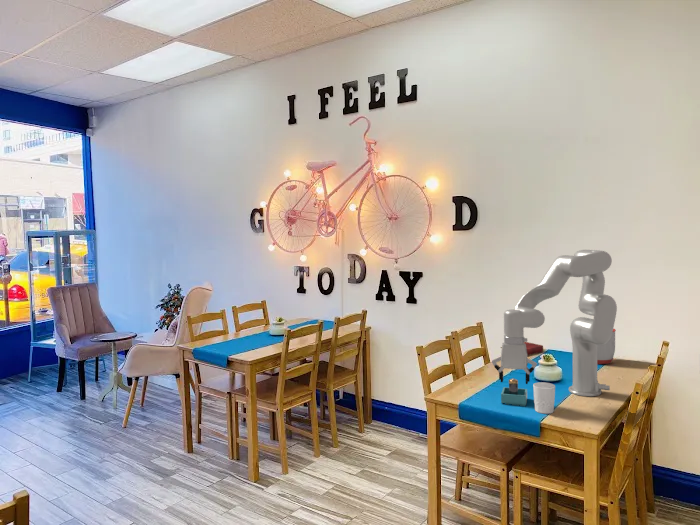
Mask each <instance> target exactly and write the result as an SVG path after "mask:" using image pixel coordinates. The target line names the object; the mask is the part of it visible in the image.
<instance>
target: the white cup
mask: <svg viewBox="0 0 700 525" xmlns="http://www.w3.org/2000/svg"><path fill="white" fill-rule="evenodd" d="M532 384H533V385H532V387H533V388H532V389H533V403H534V410H535V412H537V413H538V414H546V415H549V414H550V415H551V414H553V413H554V410H555V399H556V397H555V396H556V385H555V384H553V383H550V382H545V381H543V382H542V381H541V382H535V383H532Z"/></svg>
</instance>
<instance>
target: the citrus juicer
mask: <svg viewBox="0 0 700 525" xmlns="http://www.w3.org/2000/svg"><path fill="white" fill-rule="evenodd" d="M596 347H597V365H605V364H606V365H607V364H611V363H612V362H613V360H614V356H615V352H616V329H615V328H613V332H612V336H611V338H610V340H609V341H608V342H607V343H606V344H603V345H598V344H596Z"/></svg>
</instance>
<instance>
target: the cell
mask: <svg viewBox="0 0 700 525" xmlns="http://www.w3.org/2000/svg"><path fill="white" fill-rule="evenodd" d="M508 388H509V394H513V395H518V388H519V380H518V379H516V378H513V377H512V378H510V379H508Z"/></svg>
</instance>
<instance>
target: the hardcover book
mask: <svg viewBox="0 0 700 525" xmlns="http://www.w3.org/2000/svg"><path fill="white" fill-rule="evenodd" d="M524 343H525V344H526V348H527V356H530V354H531V355H534V354H539V353H542V352H544V345H542V344H537V343H533V342H528V341H527V342H524ZM500 349H502V346H500Z"/></svg>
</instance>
